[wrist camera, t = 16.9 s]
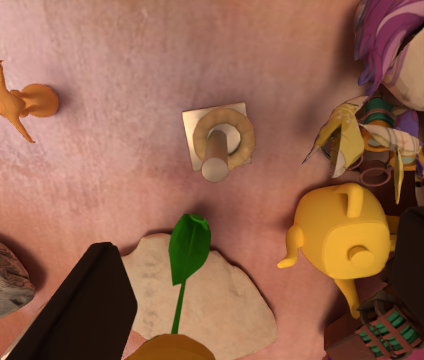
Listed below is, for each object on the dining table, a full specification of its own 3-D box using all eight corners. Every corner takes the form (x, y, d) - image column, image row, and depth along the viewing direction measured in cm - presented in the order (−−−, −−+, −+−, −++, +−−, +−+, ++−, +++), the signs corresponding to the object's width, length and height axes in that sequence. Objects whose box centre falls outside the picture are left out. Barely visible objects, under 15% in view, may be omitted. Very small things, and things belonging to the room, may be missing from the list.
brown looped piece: (304, 168, 32) (381, 115, 24) (309, 121, 37) (373, 65, 29) (362, 203, 33) (451, 164, 25) (359, 153, 39) (432, 108, 31)
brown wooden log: (308, 262, 55) (304, 375, 41) (374, 174, 35) (408, 332, 22) (374, 282, 53) (393, 406, 39) (483, 199, 33) (594, 390, 20)
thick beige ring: (188, 112, 32) (186, 114, 31) (250, 103, 32) (252, 104, 30) (199, 170, 35) (198, 175, 34) (256, 163, 34) (258, 167, 33)
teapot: (264, 223, 39) (276, 269, 30) (330, 156, 35) (368, 185, 26) (328, 268, 42) (358, 323, 33) (397, 211, 37) (453, 256, 28)
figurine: (22, 67, 32) (-83, 63, 21) (68, 60, 32) (-16, 52, 21) (47, 132, 35) (-34, 159, 24) (88, 127, 35) (26, 151, 24)
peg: (183, 111, 33) (159, 131, 21) (244, 101, 33) (256, 117, 20) (194, 168, 36) (179, 215, 24) (250, 160, 36) (264, 205, 23)
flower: (188, 179, 37) (81, 497, 9) (235, 206, 38) (268, 556, 10) (161, 223, 40) (16, 564, 12) (205, 246, 41) (169, 603, 13)
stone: (90, 323, 44) (247, 362, 49) (73, 357, 38) (256, 399, 43) (128, 212, 41) (294, 266, 45) (117, 229, 34) (312, 290, 39)
